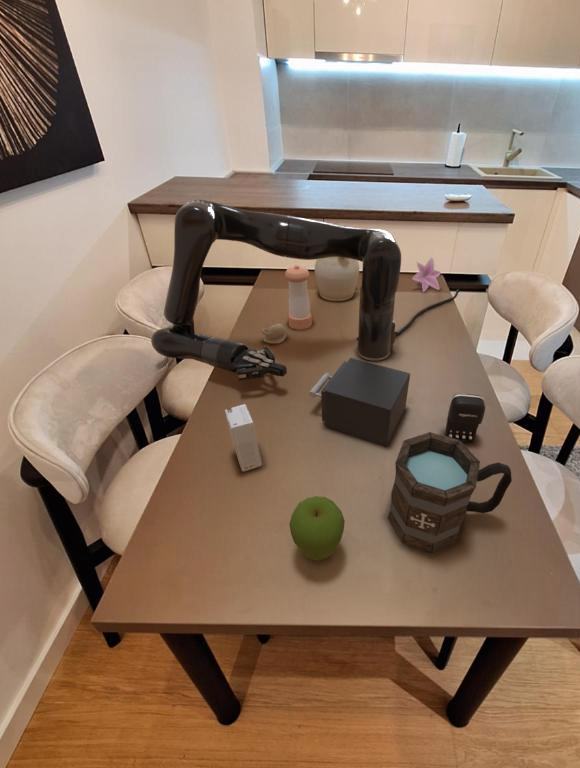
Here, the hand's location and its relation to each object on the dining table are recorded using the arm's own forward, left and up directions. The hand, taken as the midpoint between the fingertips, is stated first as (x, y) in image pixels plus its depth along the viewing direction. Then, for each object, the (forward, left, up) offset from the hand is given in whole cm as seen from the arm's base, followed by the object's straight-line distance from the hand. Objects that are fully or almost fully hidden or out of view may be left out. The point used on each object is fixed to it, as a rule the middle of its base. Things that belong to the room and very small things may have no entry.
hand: (285, 371), depth 95 cm
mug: (-9, +46, -7) cm, 48 cm away
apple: (+13, +40, -7) cm, 43 cm away
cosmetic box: (+16, +15, -7) cm, 23 cm away
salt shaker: (-18, -30, -7) cm, 35 cm away
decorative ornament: (-7, -25, -7) cm, 27 cm away
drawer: (-10, +14, -6) cm, 18 cm away
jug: (-39, -43, -7) cm, 58 cm away
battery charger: (-26, +33, -7) cm, 43 cm away
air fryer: (-12, +17, -7) cm, 22 cm away
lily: (-71, -32, -7) cm, 78 cm away
